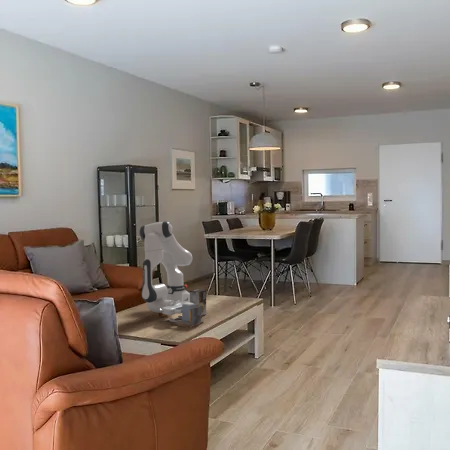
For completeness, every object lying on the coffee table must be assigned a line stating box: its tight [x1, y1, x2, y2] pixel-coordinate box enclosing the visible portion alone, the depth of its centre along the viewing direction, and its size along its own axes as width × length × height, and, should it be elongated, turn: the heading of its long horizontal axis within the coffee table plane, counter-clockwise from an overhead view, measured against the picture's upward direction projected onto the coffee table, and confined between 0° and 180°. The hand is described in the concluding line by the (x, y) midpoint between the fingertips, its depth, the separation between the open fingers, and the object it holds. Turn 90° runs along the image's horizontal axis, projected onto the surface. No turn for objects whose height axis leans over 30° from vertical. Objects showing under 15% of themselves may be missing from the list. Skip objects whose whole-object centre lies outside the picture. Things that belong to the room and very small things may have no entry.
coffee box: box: [189, 288, 207, 316], centre depth 330 cm, size 9×6×16 cm
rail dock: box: [165, 306, 204, 329], centre depth 310 cm, size 14×18×11 cm
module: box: [181, 302, 195, 322], centre depth 308 cm, size 5×6×12 cm
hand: (186, 310), depth 309 cm, fingers open, 8 cm apart
